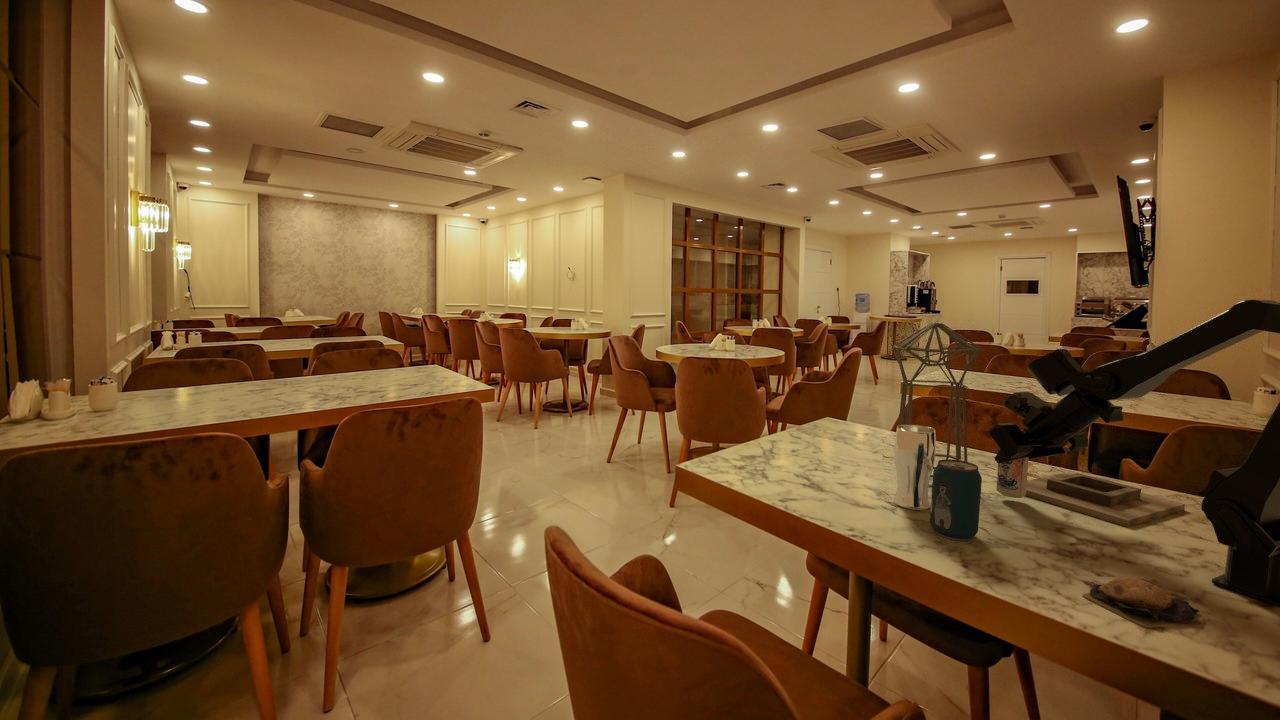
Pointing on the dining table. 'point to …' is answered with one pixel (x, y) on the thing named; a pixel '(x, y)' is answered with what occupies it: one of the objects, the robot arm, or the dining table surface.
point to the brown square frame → (1101, 498)
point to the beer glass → (914, 465)
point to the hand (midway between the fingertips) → (1006, 459)
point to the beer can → (1012, 478)
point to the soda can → (955, 499)
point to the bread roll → (1141, 603)
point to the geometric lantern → (967, 349)
